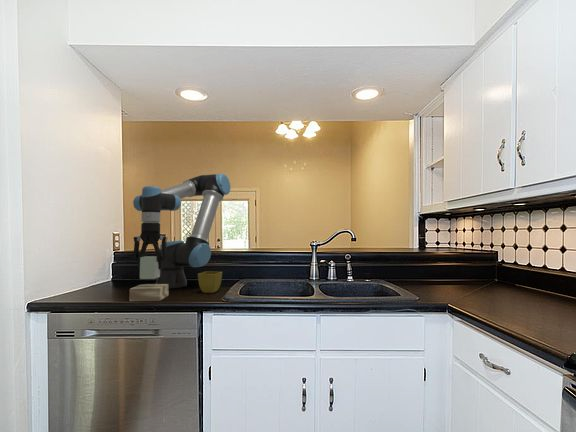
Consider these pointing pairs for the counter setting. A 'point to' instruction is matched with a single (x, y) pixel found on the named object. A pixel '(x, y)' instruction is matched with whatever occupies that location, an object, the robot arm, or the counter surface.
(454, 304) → the counter surface
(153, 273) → the sage block
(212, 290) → the flower pot
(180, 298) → the counter surface
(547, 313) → the counter surface
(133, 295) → the base block
